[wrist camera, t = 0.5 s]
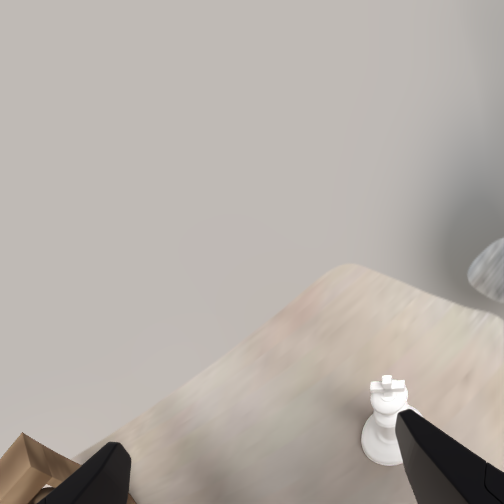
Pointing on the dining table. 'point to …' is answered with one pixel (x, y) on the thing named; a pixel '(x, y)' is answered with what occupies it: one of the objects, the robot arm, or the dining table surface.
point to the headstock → (32, 471)
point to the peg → (42, 494)
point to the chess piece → (385, 421)
